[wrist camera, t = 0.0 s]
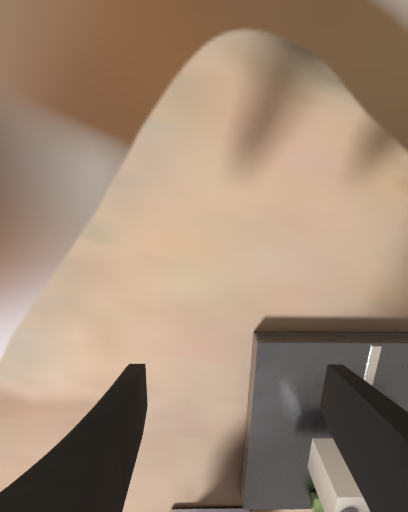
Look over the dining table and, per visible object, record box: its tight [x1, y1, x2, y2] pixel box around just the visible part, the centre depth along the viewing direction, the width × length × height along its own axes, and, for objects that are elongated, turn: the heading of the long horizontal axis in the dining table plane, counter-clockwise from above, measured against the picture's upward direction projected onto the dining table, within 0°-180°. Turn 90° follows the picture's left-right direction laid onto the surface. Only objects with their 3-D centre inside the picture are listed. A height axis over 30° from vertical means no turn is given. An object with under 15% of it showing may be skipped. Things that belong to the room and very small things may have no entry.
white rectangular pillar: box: [307, 438, 370, 512], centre depth 20 cm, size 3×9×6 cm, turn 89°
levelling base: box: [241, 332, 408, 512], centre depth 23 cm, size 18×18×3 cm
